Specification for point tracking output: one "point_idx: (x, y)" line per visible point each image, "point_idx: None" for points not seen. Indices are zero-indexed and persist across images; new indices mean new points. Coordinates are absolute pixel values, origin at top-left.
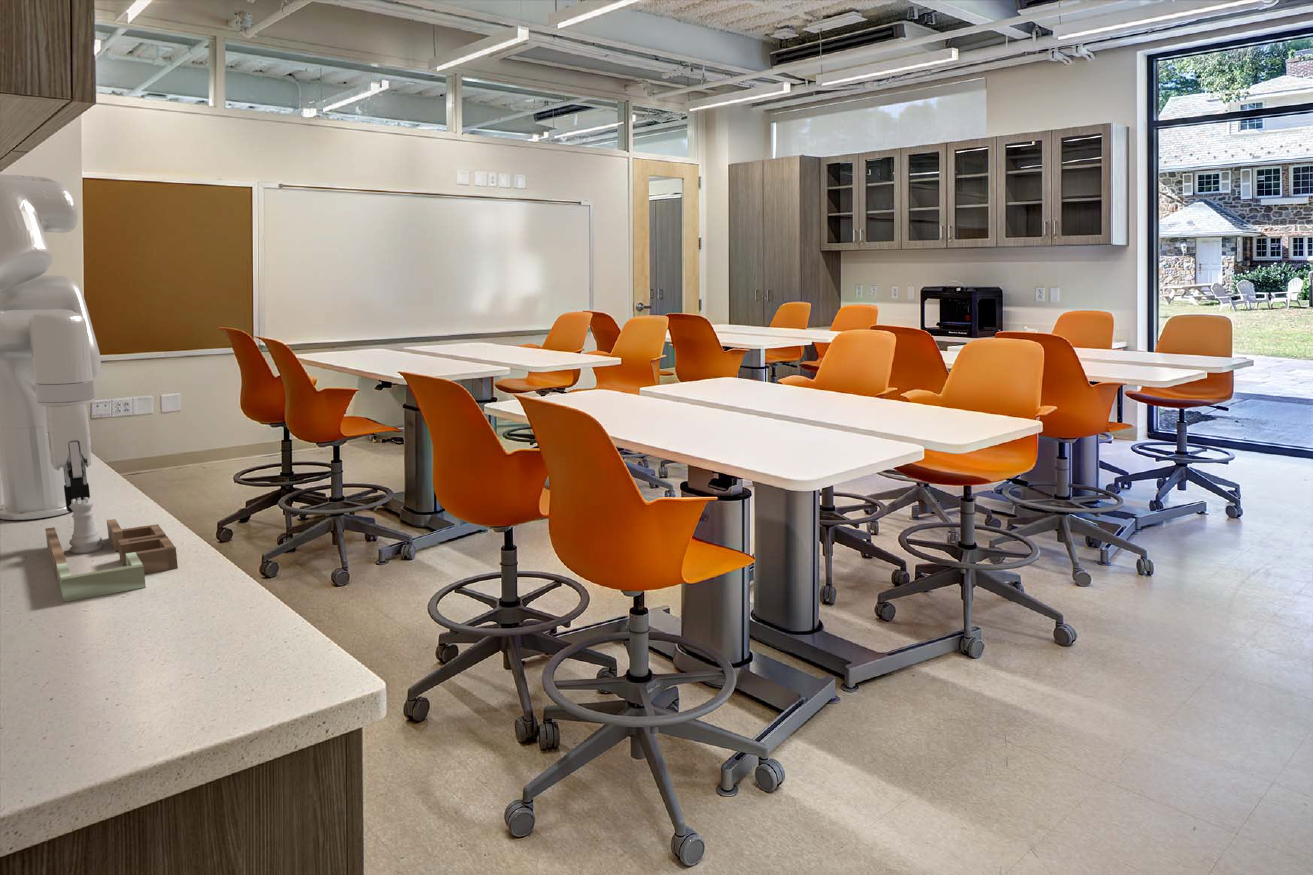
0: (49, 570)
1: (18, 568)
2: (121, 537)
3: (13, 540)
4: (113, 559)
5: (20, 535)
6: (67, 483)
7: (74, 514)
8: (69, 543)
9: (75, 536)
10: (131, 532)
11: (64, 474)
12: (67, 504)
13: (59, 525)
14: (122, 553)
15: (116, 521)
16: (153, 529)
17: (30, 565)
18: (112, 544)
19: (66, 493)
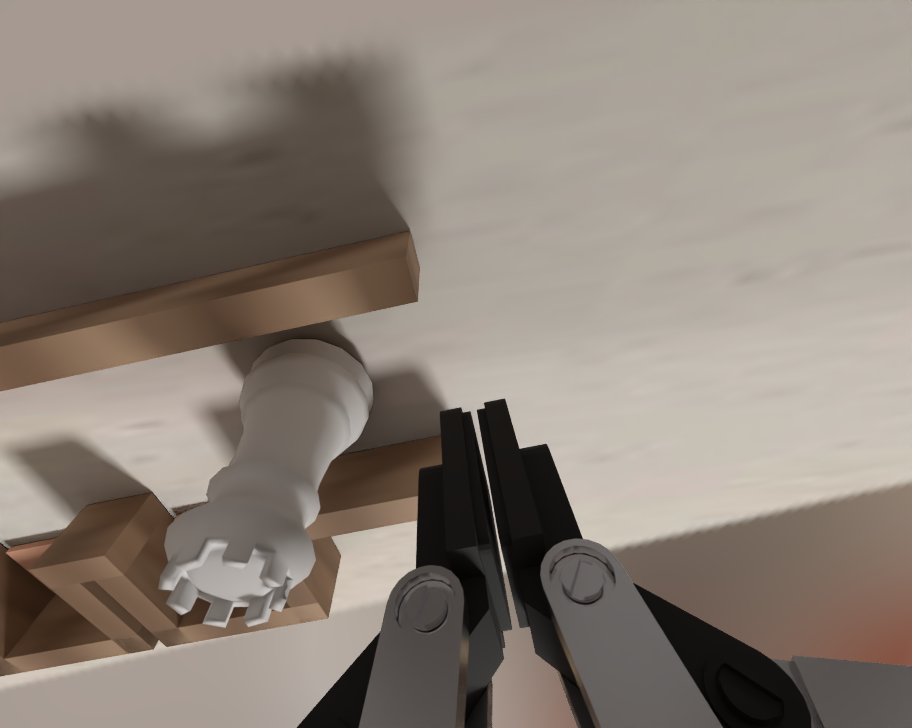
0: (9, 301)
1: (37, 156)
2: None
3: (658, 4)
4: (160, 475)
5: (759, 29)
6: (387, 620)
7: (219, 486)
8: (275, 357)
9: (252, 402)
10: None
11: (577, 660)
12: (443, 440)
13: (832, 217)
14: (56, 541)
15: None
16: None
17: (92, 206)
18: (342, 458)
19: (446, 505)
